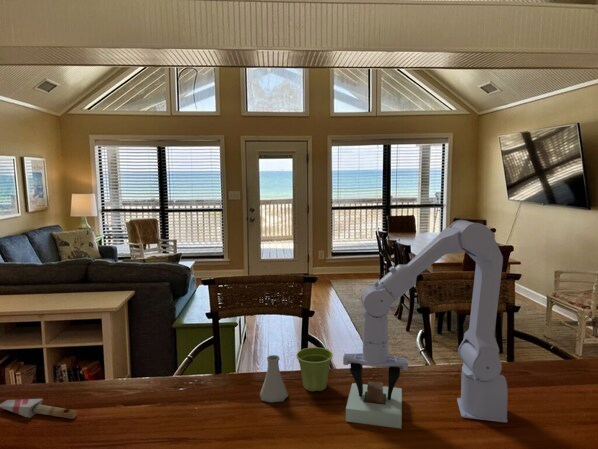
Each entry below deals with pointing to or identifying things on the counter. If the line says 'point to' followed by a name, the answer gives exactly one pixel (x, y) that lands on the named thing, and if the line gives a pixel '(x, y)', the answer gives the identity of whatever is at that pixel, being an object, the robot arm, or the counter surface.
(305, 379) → the plant pot
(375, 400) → the walnut peg
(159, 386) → the counter surface
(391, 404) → the socket block
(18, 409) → the grey and wooden tool
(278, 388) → the flask
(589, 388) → the counter surface
